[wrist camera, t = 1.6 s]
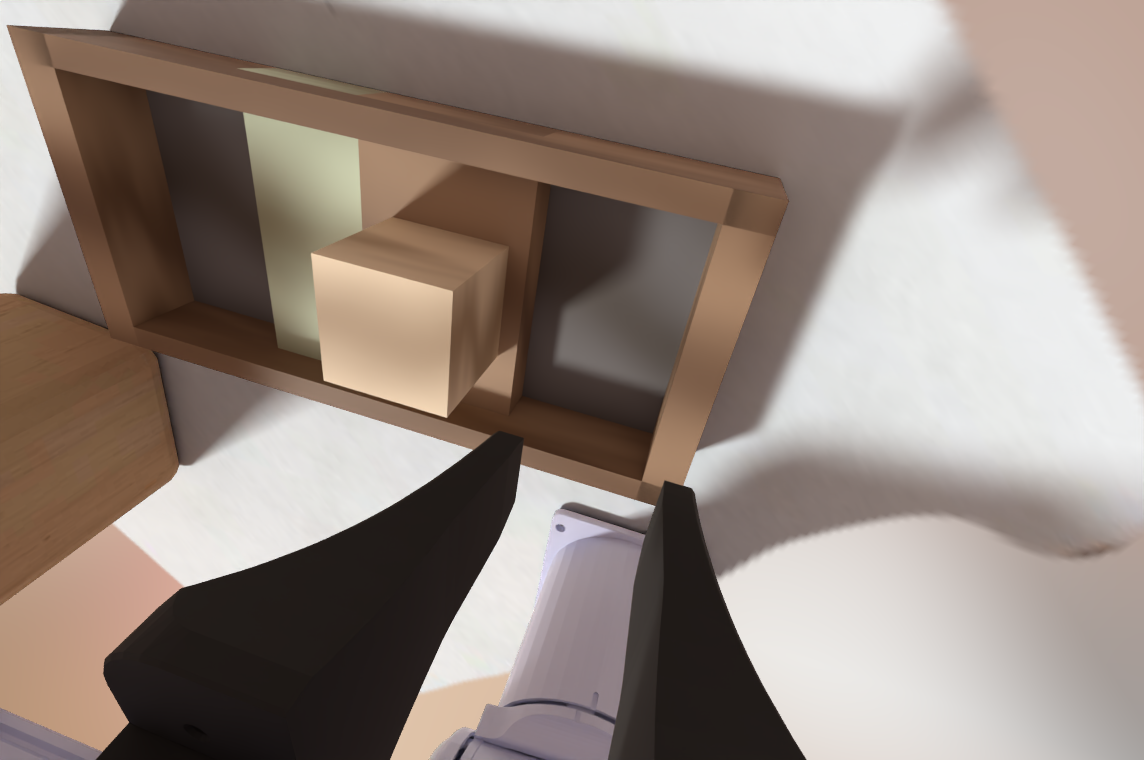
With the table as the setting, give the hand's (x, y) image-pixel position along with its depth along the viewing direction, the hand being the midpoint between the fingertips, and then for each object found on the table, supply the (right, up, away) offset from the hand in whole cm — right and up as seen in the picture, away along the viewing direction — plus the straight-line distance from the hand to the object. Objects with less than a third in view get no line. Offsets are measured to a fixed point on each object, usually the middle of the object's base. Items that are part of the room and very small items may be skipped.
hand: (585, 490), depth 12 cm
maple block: (-5, +6, +8) cm, 11 cm away
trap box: (-7, +8, +10) cm, 14 cm away
